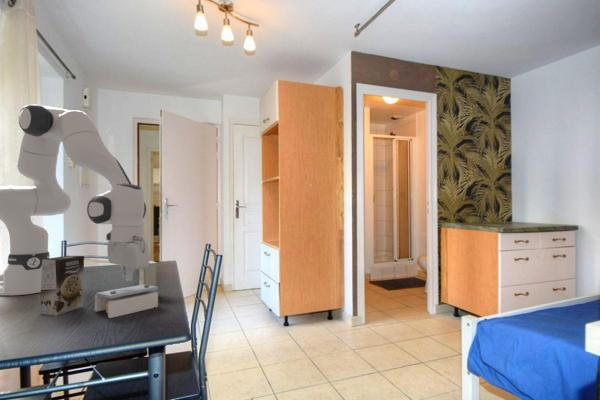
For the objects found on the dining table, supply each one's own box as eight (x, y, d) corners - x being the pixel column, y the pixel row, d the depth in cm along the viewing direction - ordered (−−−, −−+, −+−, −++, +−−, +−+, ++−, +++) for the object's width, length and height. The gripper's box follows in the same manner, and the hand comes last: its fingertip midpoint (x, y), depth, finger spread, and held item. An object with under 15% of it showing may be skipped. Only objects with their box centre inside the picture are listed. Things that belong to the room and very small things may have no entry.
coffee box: (57, 316, 95) (58, 259, 96) (39, 314, 96) (40, 258, 97) (84, 306, 104) (85, 255, 104) (66, 305, 105) (68, 254, 106)
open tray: (94, 310, 100) (94, 295, 100) (140, 300, 111) (141, 287, 111) (110, 318, 93) (110, 302, 93) (157, 306, 104) (157, 292, 104)
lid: (96, 295, 100) (95, 290, 100) (142, 287, 111) (142, 282, 111) (110, 298, 93) (110, 293, 94) (157, 289, 104) (157, 284, 104)
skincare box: (138, 295, 117) (138, 261, 118) (151, 293, 120) (152, 260, 121) (142, 299, 112) (143, 263, 113) (156, 297, 115) (157, 262, 116)
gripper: (155, 236, 99) (154, 283, 98) (124, 233, 111) (123, 274, 111) (133, 238, 94) (132, 287, 93) (103, 234, 107) (102, 277, 106)
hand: (127, 280), depth 102 cm, fingers closed
